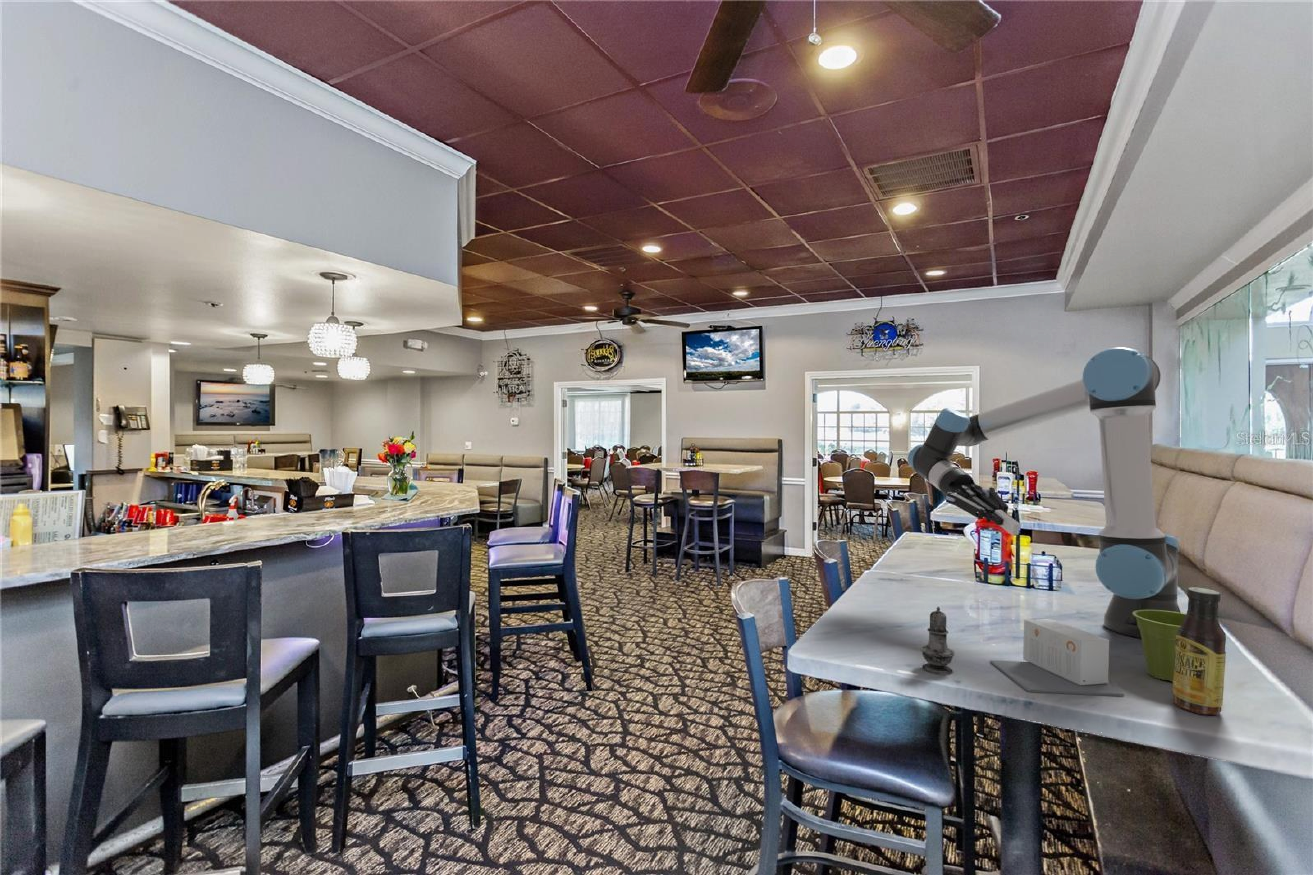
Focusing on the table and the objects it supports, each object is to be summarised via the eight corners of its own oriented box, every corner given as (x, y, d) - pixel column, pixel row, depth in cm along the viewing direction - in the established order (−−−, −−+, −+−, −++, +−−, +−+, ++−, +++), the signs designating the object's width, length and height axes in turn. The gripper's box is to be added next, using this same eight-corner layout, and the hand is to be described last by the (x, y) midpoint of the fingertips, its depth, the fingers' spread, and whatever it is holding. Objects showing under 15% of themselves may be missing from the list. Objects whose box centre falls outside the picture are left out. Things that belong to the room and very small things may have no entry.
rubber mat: (1074, 665, 120) (1074, 663, 120) (1124, 696, 106) (1124, 694, 106) (989, 662, 121) (990, 660, 121) (1027, 691, 107) (1027, 689, 107)
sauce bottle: (1162, 701, 104) (1164, 584, 104) (1196, 700, 105) (1198, 584, 105) (1199, 718, 98) (1202, 594, 97) (1235, 718, 98) (1238, 594, 98)
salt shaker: (958, 676, 113) (959, 612, 113) (924, 673, 114) (925, 609, 114) (949, 665, 119) (950, 603, 119) (917, 662, 120) (918, 601, 120)
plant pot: (1158, 663, 122) (1159, 606, 122) (1230, 686, 111) (1231, 624, 111) (1116, 669, 118) (1117, 611, 118) (1186, 694, 107) (1187, 630, 107)
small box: (1049, 658, 123) (1109, 684, 110) (1021, 659, 121) (1079, 686, 109) (1050, 617, 123) (1110, 639, 110) (1023, 618, 121) (1081, 641, 109)
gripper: (971, 491, 160) (1038, 540, 139) (925, 496, 158) (986, 547, 136) (977, 465, 157) (1046, 512, 135) (930, 470, 155) (993, 518, 133)
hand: (1016, 529), depth 136 cm, fingers closed
